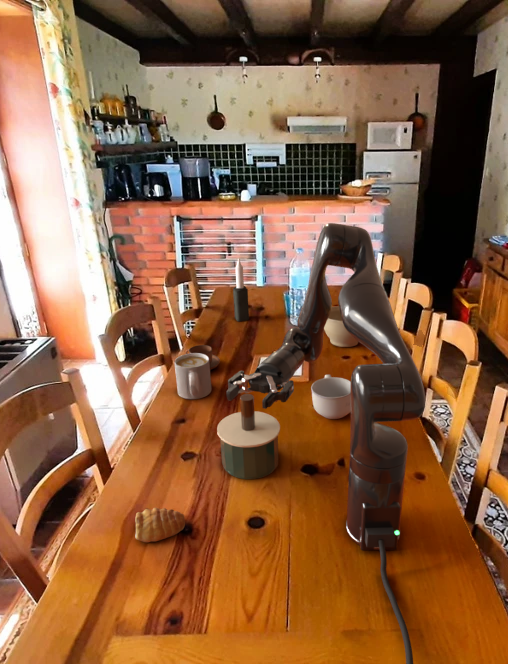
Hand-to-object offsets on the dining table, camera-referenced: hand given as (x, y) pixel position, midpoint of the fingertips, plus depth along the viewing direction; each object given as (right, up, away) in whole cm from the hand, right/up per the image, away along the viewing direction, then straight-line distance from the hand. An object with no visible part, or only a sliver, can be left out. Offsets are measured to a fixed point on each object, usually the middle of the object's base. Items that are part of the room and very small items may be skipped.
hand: (245, 400), depth 103 cm
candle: (+1, +22, +94) cm, 97 cm away
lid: (+1, -7, +3) cm, 7 cm away
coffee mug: (-14, -3, +38) cm, 40 cm away
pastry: (-17, -23, -11) cm, 31 cm away
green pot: (+1, -15, +6) cm, 16 cm away
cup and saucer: (-13, +4, +54) cm, 56 cm away
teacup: (+24, -6, +25) cm, 35 cm away
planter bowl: (+37, +12, +66) cm, 76 cm away
